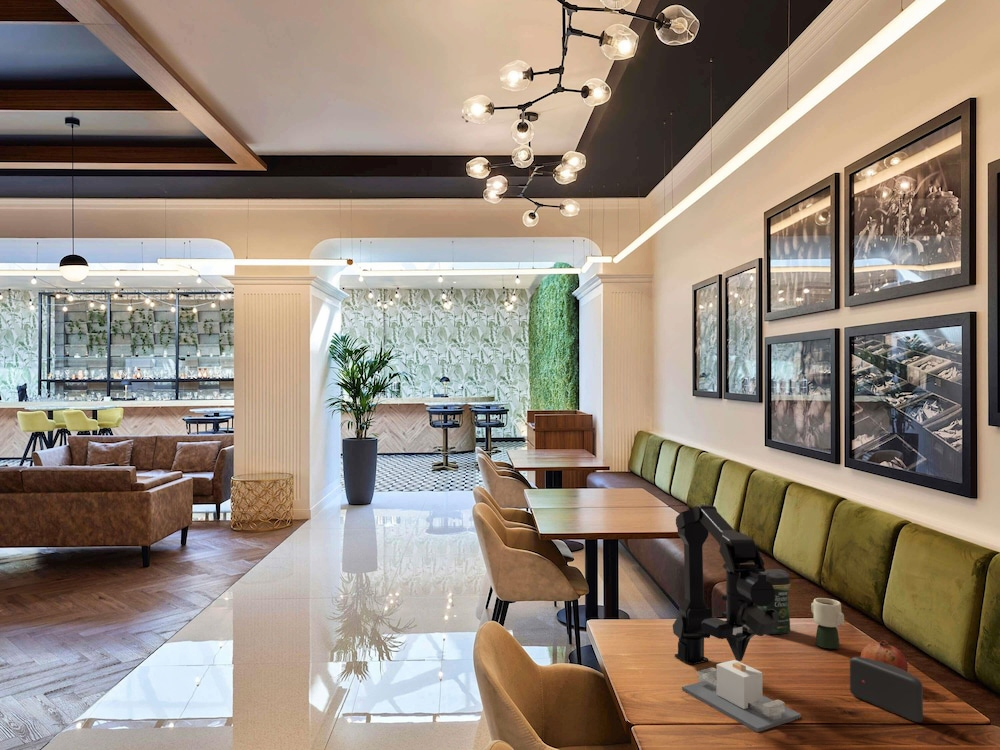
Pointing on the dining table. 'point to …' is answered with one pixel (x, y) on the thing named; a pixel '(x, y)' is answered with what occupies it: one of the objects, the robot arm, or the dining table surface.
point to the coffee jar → (779, 598)
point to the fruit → (885, 654)
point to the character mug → (827, 621)
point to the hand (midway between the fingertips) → (738, 660)
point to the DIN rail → (767, 709)
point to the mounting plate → (738, 708)
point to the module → (739, 683)
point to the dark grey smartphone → (887, 687)
